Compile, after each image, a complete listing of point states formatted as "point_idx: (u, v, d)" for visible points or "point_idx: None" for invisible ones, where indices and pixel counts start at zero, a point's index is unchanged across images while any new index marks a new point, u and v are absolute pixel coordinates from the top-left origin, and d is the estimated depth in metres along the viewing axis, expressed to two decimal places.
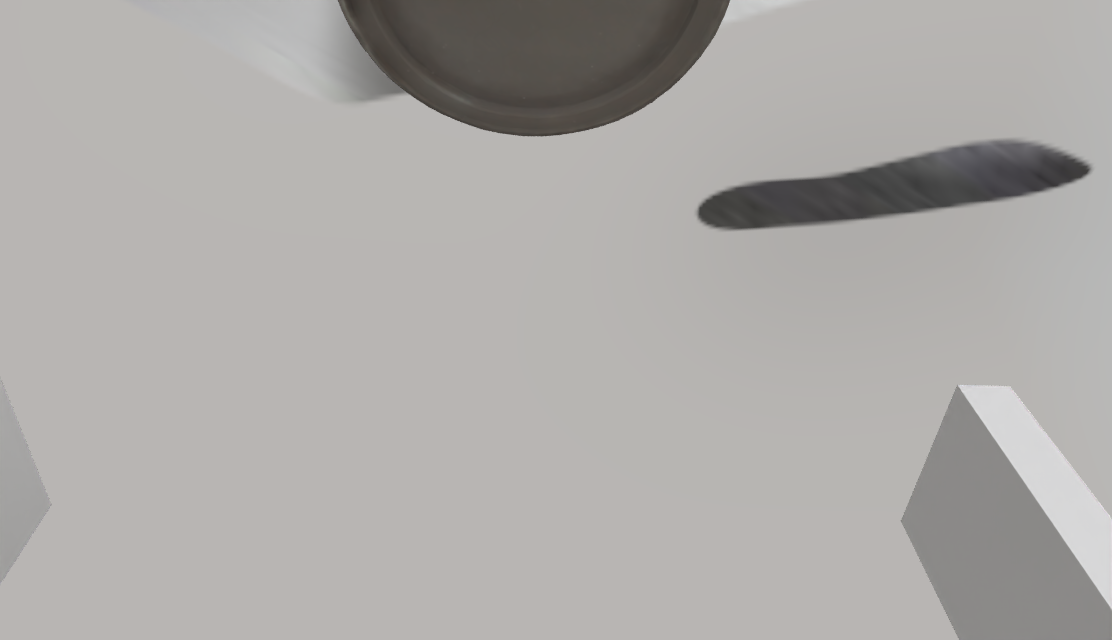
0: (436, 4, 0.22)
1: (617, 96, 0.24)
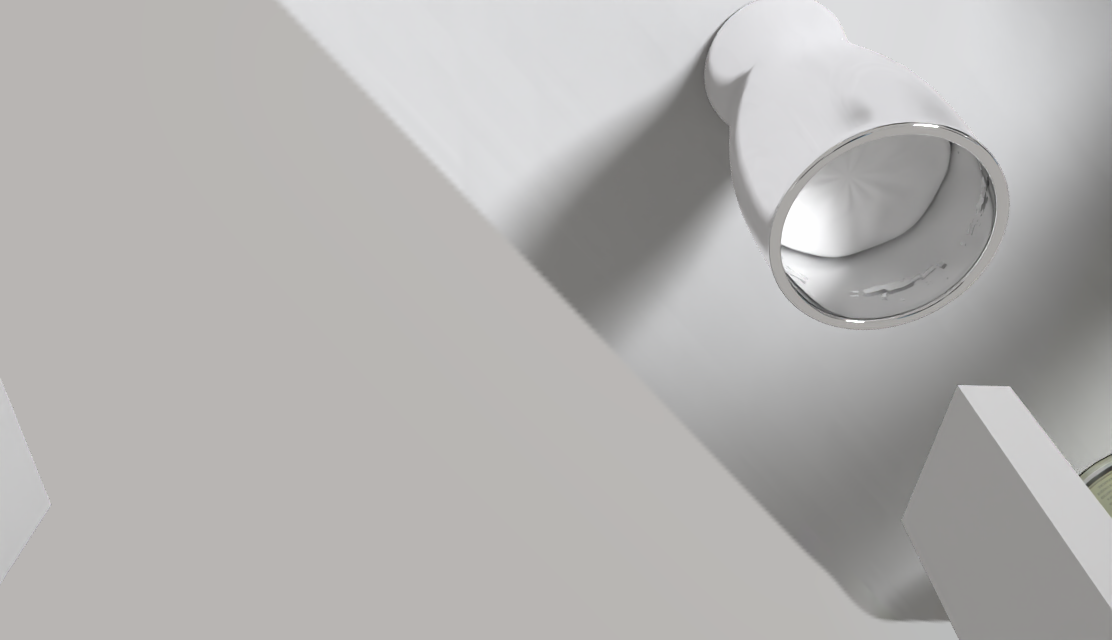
0: None
1: None
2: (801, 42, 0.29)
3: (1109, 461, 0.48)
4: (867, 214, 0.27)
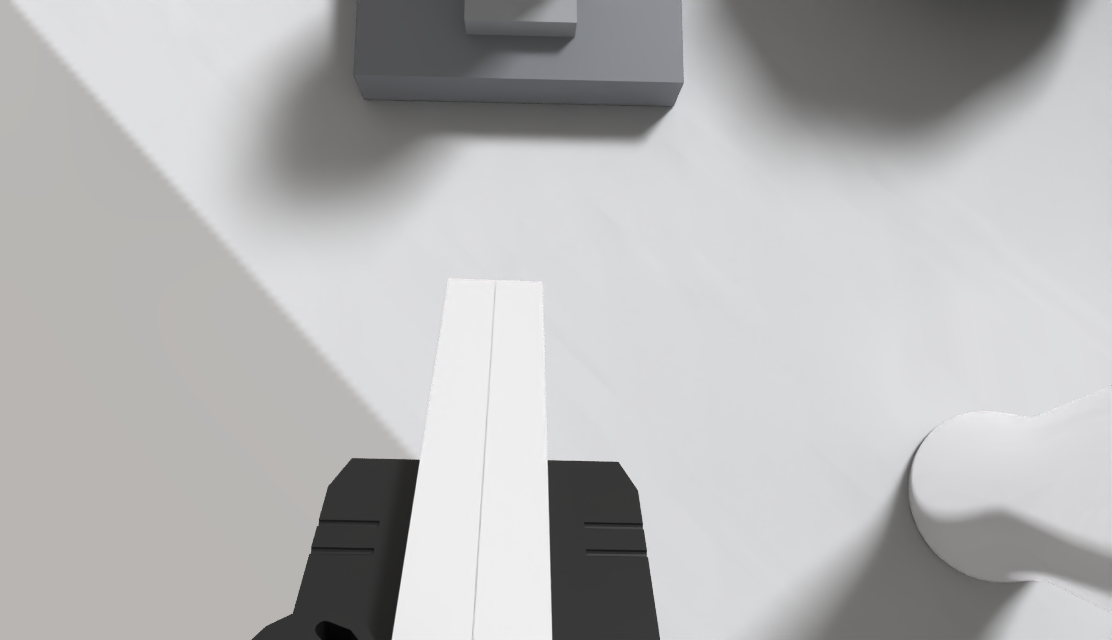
0: None
1: None
2: None
3: None
4: None
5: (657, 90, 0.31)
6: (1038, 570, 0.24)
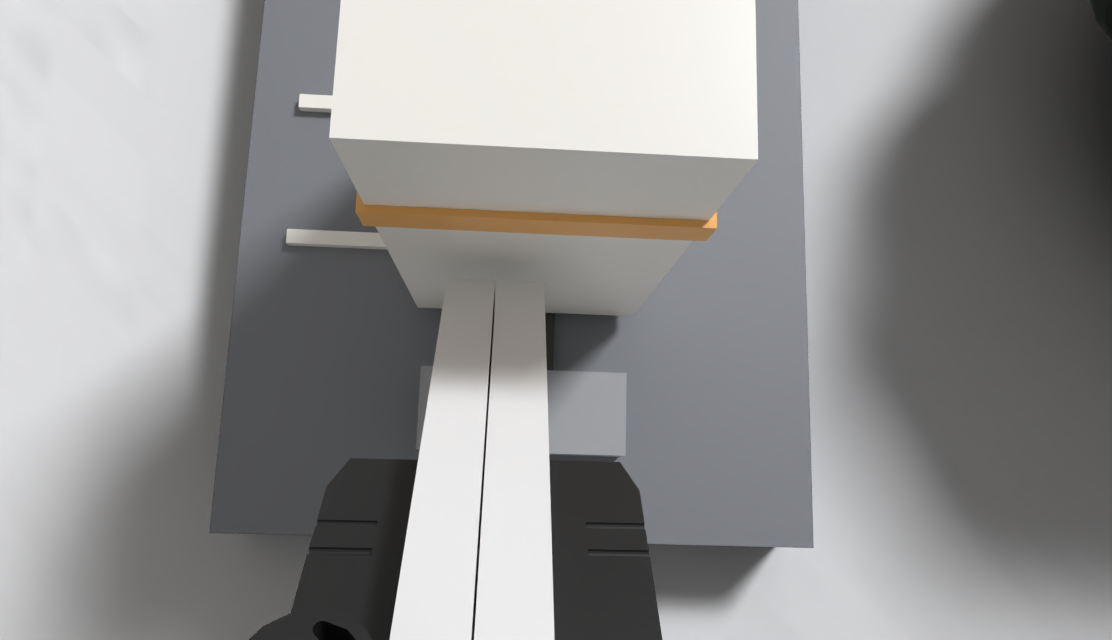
0: None
1: None
2: None
3: None
4: None
5: None
6: None
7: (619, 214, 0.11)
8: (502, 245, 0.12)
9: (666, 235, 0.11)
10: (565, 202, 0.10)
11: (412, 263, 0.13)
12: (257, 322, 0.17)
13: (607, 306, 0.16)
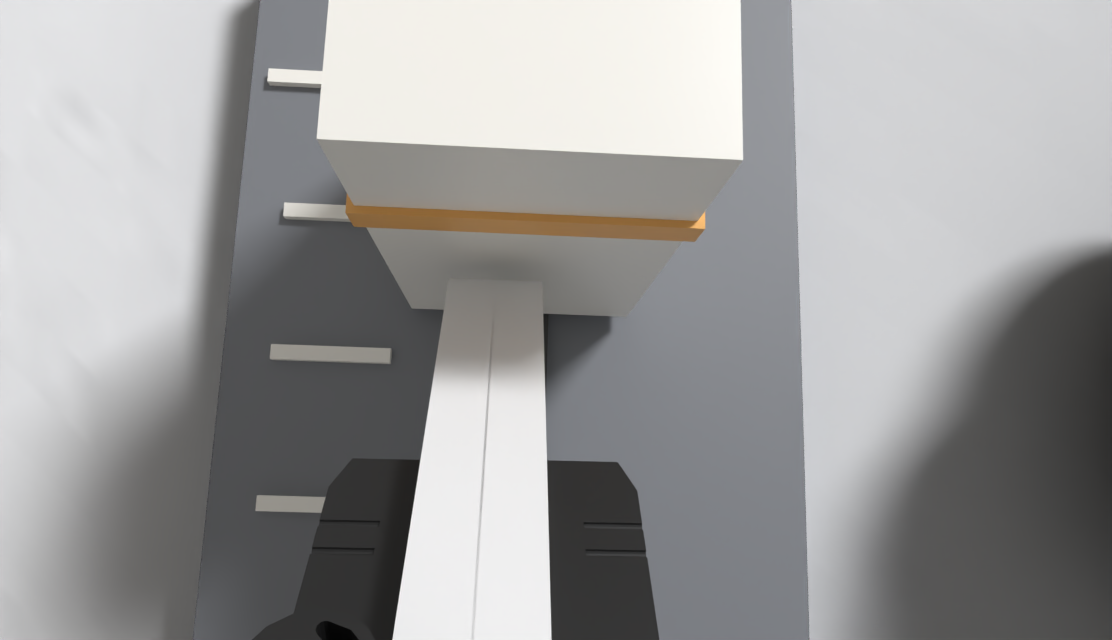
0: None
1: None
2: None
3: None
4: None
5: None
6: None
7: (608, 215, 0.11)
8: (493, 246, 0.12)
9: (655, 236, 0.11)
10: (553, 203, 0.10)
11: (404, 264, 0.13)
12: None
13: (600, 307, 0.16)
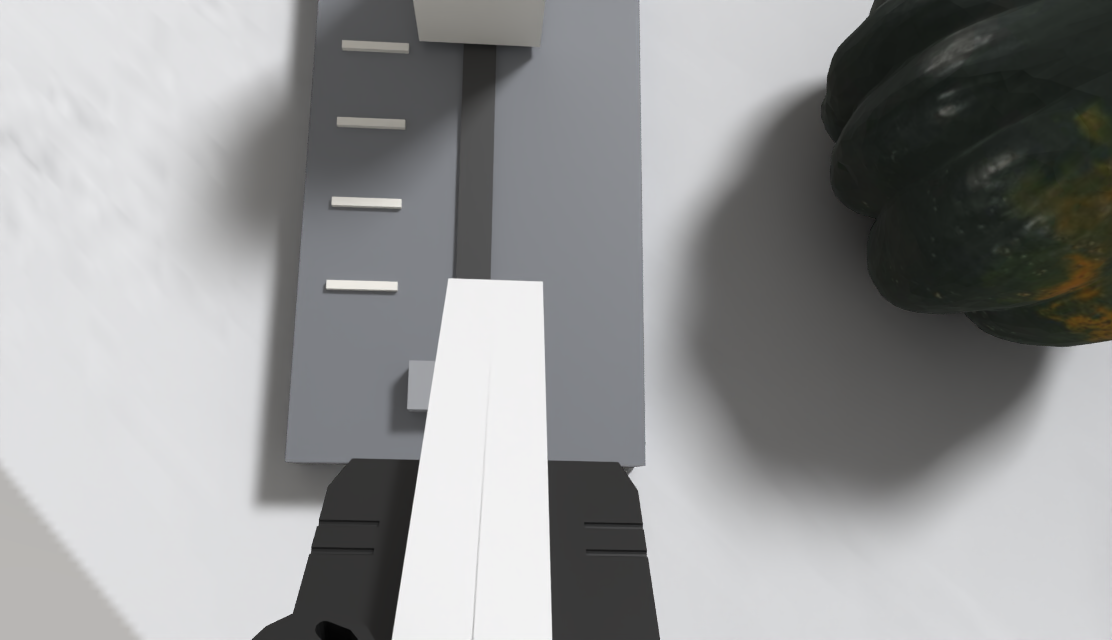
0: None
1: None
2: None
3: None
4: None
5: None
6: None
7: None
8: None
9: None
10: None
11: None
12: (309, 336, 0.28)
13: (523, 33, 0.30)
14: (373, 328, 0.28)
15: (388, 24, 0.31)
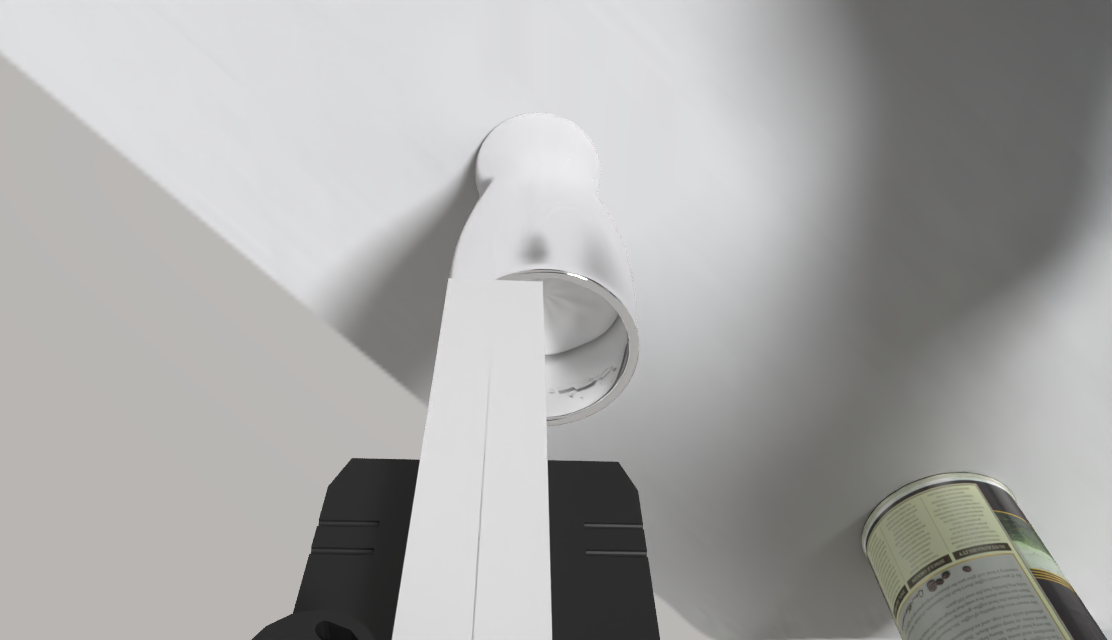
0: None
1: None
2: (517, 171, 0.33)
3: (897, 495, 0.53)
4: (565, 321, 0.32)
5: None
6: None
7: None
8: None
9: None
10: None
11: None
12: None
13: None
14: None
15: None
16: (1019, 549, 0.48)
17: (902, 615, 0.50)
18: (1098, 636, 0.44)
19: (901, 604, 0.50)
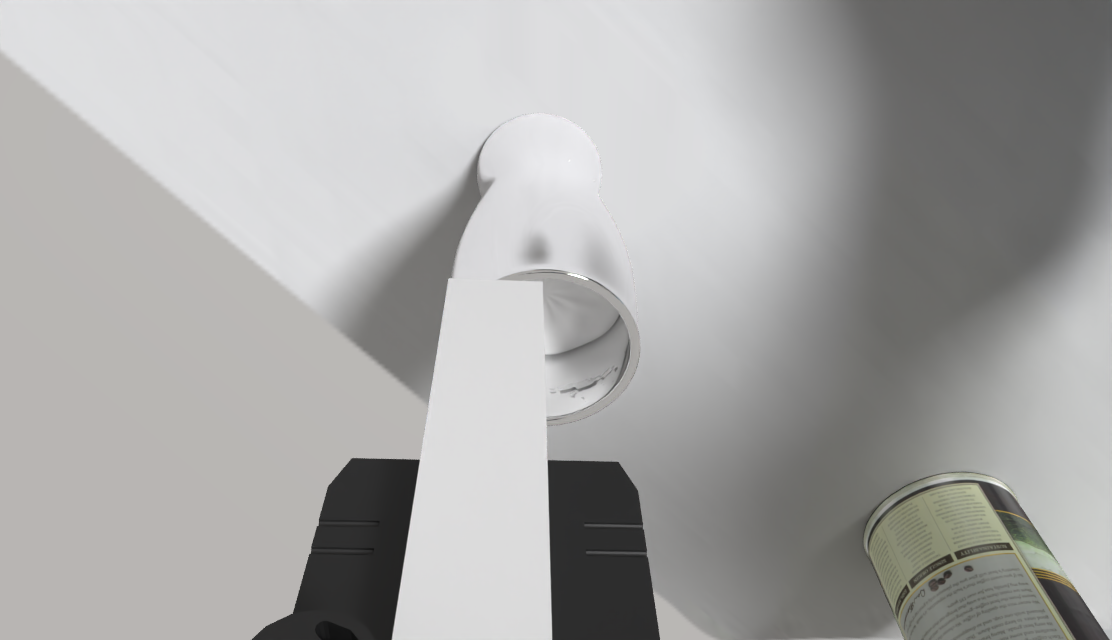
0: None
1: None
2: (519, 171, 0.34)
3: (898, 495, 0.53)
4: (567, 321, 0.32)
5: None
6: None
7: None
8: None
9: None
10: None
11: None
12: None
13: None
14: None
15: None
16: (1020, 549, 0.48)
17: (904, 614, 0.50)
18: (1100, 636, 0.44)
19: (902, 604, 0.50)
